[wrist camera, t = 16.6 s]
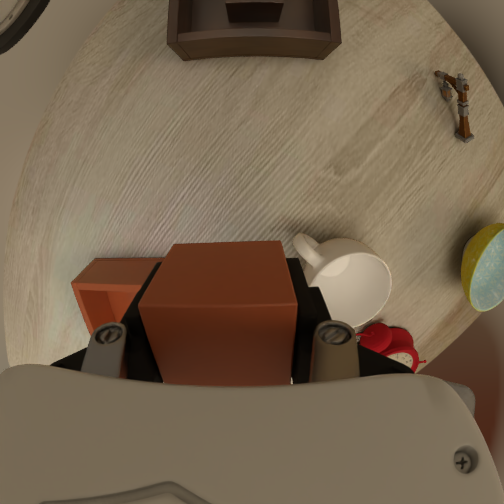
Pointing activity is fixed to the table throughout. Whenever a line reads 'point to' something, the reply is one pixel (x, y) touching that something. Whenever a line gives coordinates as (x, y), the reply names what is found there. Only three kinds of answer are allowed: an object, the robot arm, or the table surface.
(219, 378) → the terracotta block
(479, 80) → the table surface
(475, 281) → the bowl
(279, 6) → the walnut block
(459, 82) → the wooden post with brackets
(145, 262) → the terracotta bin
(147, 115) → the table surface
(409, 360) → the alarm clock
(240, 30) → the walnut bin
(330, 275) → the cup
